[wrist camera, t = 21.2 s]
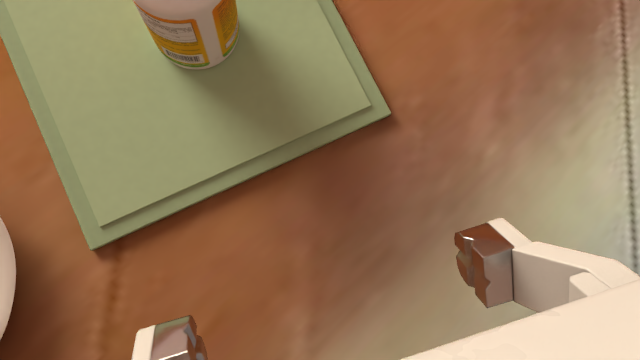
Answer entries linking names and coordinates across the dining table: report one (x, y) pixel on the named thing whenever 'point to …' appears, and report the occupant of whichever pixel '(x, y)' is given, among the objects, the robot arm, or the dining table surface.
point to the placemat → (180, 103)
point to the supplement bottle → (192, 29)
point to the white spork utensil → (6, 276)
